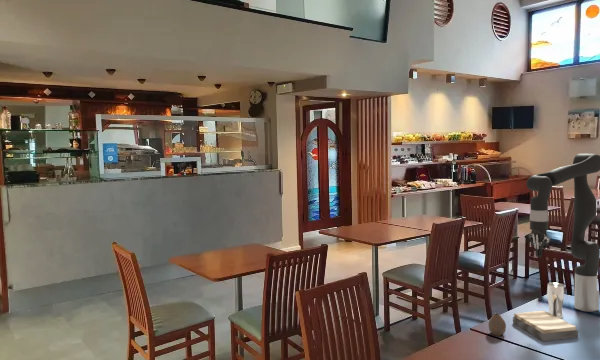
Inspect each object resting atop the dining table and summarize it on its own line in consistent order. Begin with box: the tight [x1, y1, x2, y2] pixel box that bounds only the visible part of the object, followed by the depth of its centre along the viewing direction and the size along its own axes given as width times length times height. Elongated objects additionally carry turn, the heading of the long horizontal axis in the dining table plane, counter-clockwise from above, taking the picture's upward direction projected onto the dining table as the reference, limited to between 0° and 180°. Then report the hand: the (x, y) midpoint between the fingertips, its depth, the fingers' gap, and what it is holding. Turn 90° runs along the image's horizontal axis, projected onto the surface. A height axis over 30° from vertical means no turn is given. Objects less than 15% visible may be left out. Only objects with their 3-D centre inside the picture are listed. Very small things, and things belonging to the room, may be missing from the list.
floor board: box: [512, 310, 579, 342], centre depth 198 cm, size 20×16×4 cm
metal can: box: [546, 282, 565, 319], centre depth 213 cm, size 7×7×15 cm
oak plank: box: [529, 318, 577, 334], centre depth 194 cm, size 10×15×2 cm, turn 100°
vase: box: [488, 312, 507, 337], centre depth 196 cm, size 7×7×9 cm
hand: (538, 256), depth 210 cm, fingers closed
